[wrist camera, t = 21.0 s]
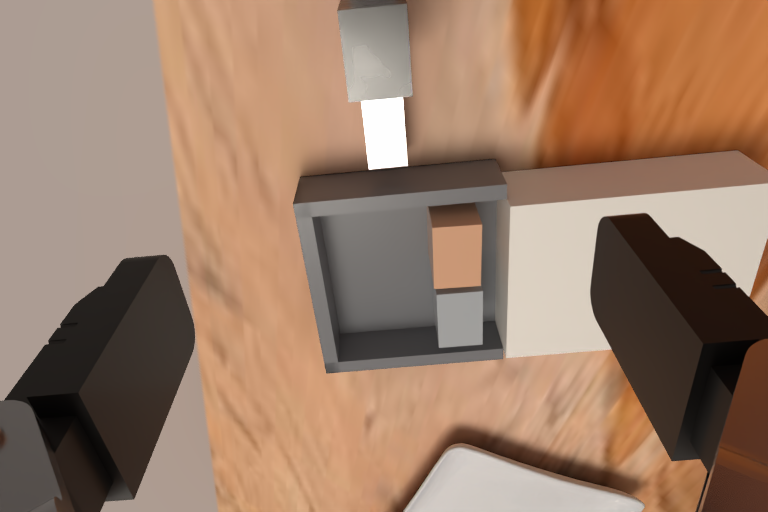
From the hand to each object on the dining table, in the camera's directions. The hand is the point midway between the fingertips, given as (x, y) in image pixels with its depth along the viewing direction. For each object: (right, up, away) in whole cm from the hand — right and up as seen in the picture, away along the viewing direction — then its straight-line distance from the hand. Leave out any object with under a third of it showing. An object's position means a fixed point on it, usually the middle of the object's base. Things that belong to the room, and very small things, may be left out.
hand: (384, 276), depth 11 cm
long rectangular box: (+16, +2, +30) cm, 34 cm away
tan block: (+6, +2, +26) cm, 27 cm away
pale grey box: (+7, -3, +29) cm, 30 cm away
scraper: (-1, +14, +22) cm, 26 cm away
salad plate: (+11, -26, +48) cm, 55 cm away
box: (+2, 0, +31) cm, 31 cm away
